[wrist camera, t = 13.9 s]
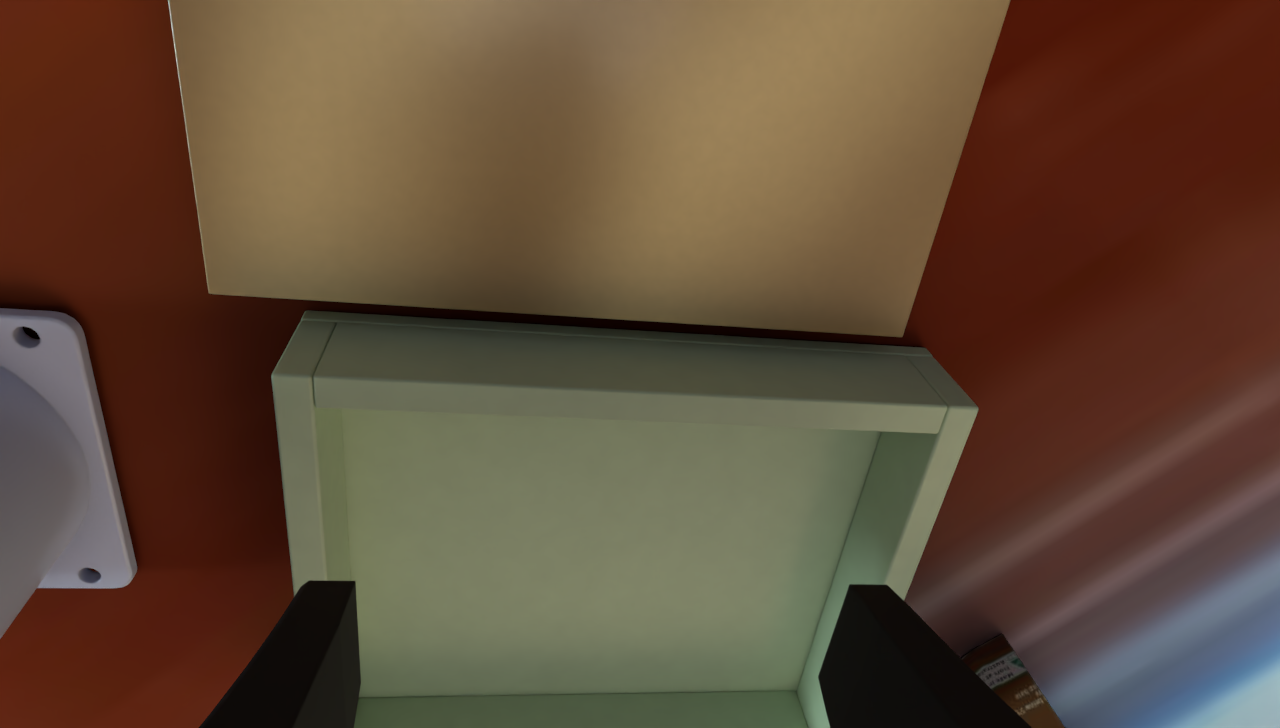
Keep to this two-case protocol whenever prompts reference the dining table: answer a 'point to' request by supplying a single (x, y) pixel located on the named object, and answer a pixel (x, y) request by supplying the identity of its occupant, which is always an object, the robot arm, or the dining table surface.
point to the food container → (1012, 682)
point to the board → (582, 153)
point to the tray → (603, 512)
